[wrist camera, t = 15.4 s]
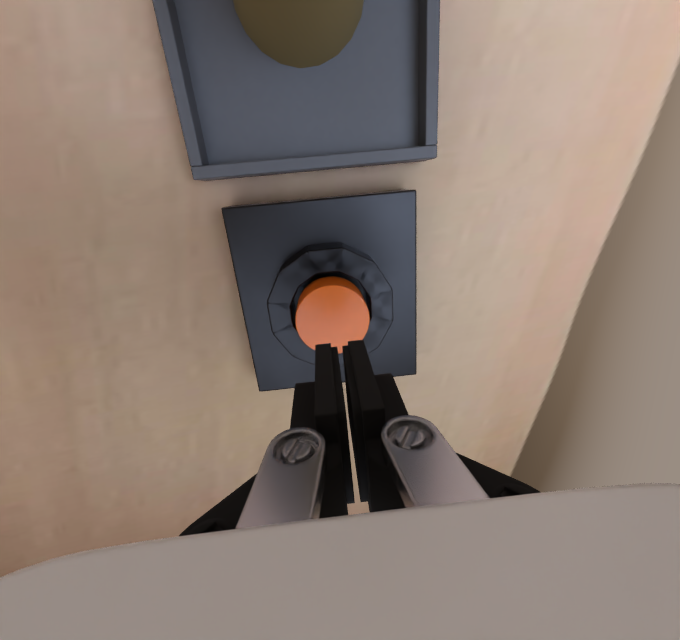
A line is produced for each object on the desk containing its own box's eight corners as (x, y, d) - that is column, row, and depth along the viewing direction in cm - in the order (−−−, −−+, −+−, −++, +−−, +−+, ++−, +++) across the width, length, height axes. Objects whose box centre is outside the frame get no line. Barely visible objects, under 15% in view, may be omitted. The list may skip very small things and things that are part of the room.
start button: (292, 279, 17) (290, 289, 15) (362, 272, 17) (367, 281, 15) (301, 343, 18) (300, 358, 17) (366, 336, 18) (371, 350, 17)
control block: (231, 205, 19) (210, 210, 15) (405, 189, 19) (427, 189, 15) (264, 374, 23) (254, 410, 19) (407, 358, 23) (425, 390, 19)
